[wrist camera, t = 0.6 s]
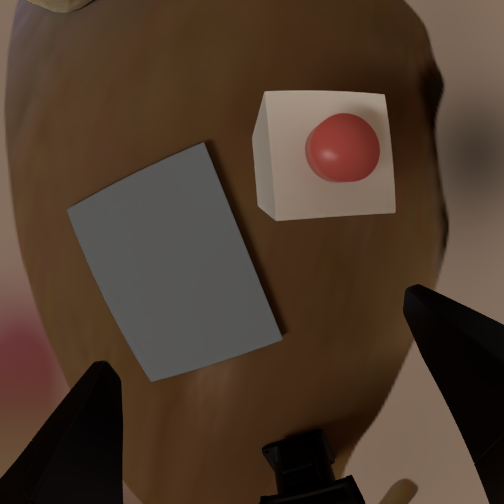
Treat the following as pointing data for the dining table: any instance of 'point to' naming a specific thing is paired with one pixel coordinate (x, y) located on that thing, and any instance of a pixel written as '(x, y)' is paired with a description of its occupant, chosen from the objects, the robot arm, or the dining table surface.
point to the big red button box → (323, 155)
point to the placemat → (175, 266)
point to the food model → (61, 4)
